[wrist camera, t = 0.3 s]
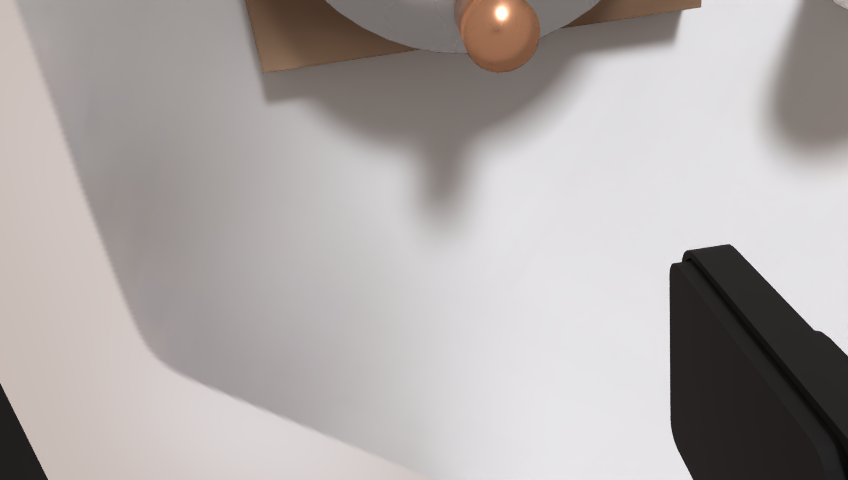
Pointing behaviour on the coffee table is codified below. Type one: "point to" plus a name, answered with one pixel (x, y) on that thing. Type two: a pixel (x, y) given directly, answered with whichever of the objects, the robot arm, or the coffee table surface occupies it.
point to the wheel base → (345, 40)
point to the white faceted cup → (842, 3)
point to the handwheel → (467, 25)
